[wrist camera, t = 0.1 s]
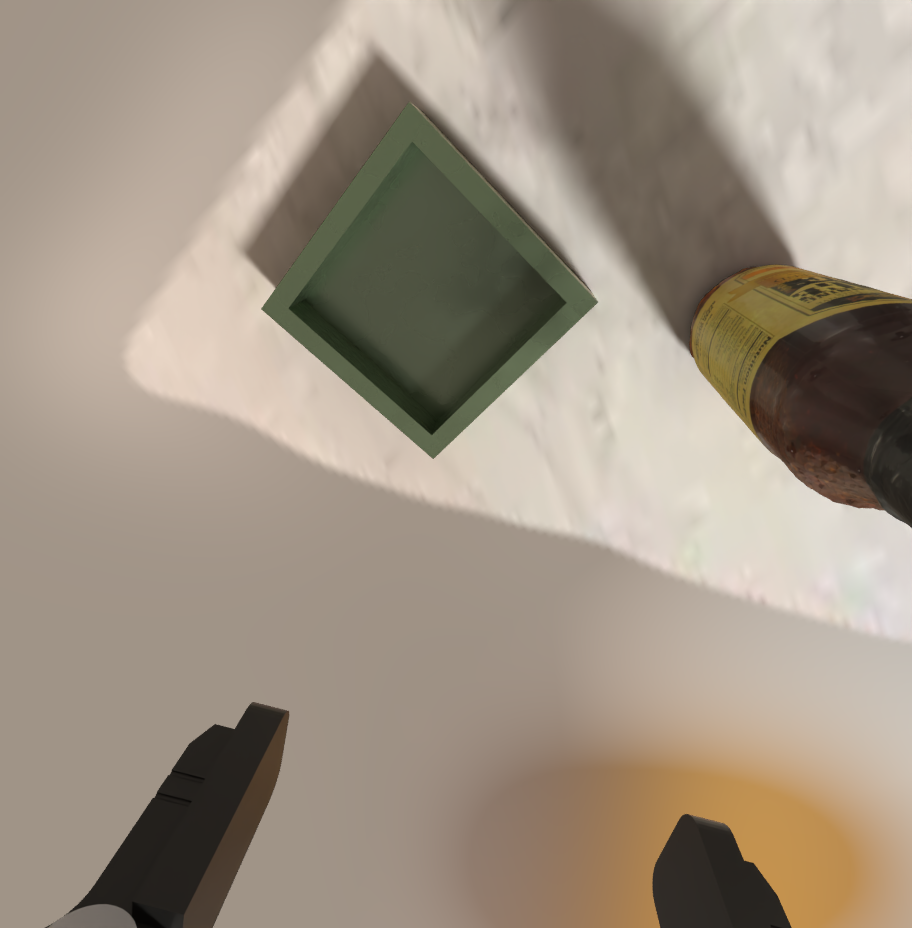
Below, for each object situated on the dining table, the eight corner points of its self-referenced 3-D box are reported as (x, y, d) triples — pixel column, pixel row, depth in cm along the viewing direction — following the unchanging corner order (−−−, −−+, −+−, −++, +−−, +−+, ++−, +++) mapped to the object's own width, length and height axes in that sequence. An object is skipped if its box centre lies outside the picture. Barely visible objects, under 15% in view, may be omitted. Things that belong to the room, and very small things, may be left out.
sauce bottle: (843, 296, 26) (1490, 511, 9) (757, 403, 29) (1110, 730, 11) (729, 233, 26) (1173, 328, 8) (652, 349, 28) (855, 608, 11)
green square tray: (421, 111, 25) (409, 101, 22) (591, 291, 27) (597, 302, 25) (285, 298, 29) (261, 308, 27) (440, 436, 32) (433, 459, 29)
